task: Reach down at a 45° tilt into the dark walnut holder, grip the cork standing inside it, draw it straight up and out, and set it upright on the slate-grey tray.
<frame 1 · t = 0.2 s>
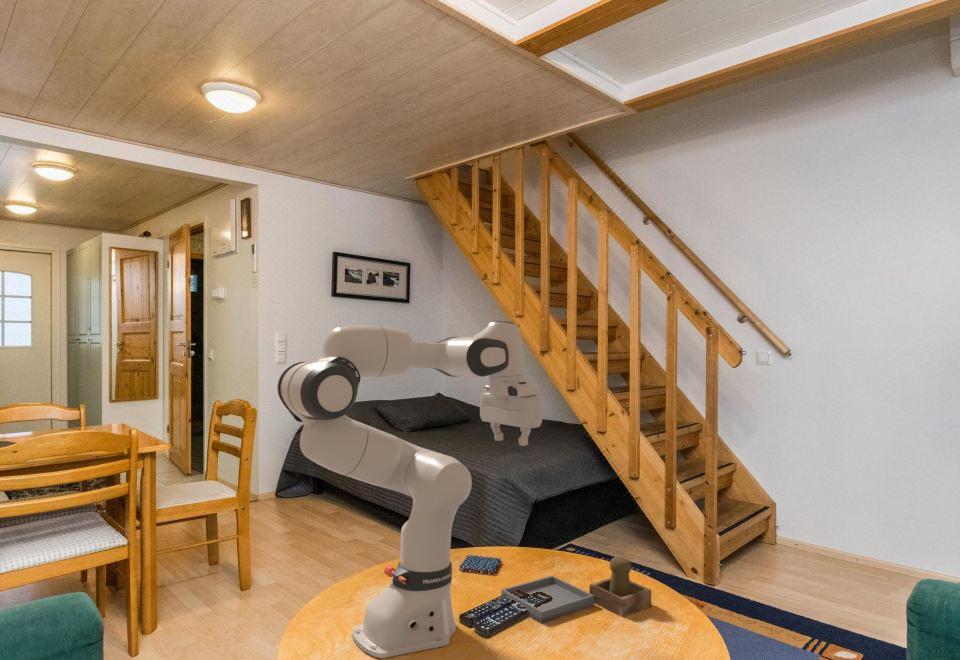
hand: (510, 442, 144), 39 cm above the table, tool pointing down, fingers open, 8 cm apart
woven mat: (481, 569, 167), on the table
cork: (619, 604, 144), resting in holder
tray: (547, 602, 144), on the table
holder: (619, 603, 144), on the table
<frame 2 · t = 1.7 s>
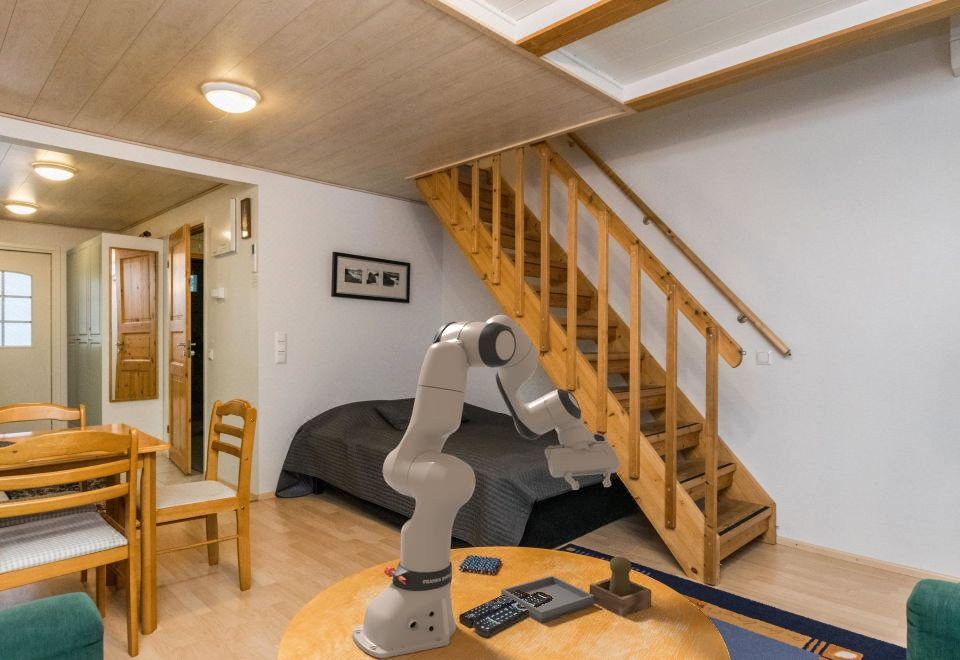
hand: (592, 487, 158), 25 cm above the table, tool tilted 45°, fingers open, 8 cm apart
nothing on the table moved.
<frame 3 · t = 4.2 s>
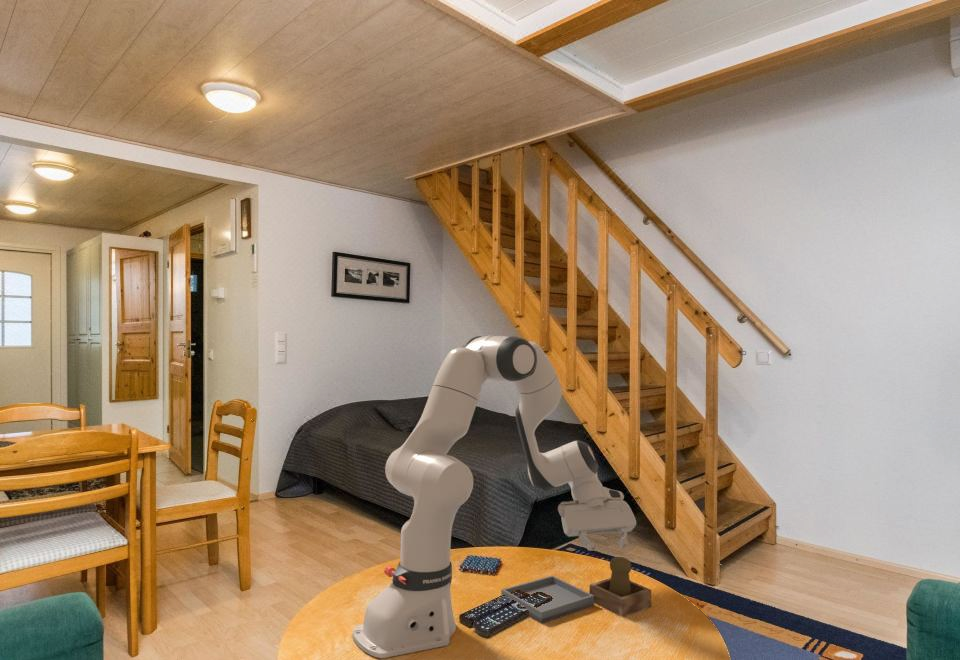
hand: (608, 548, 150), 12 cm above the table, tool tilted 45°, fingers open, 8 cm apart
nothing on the table moved.
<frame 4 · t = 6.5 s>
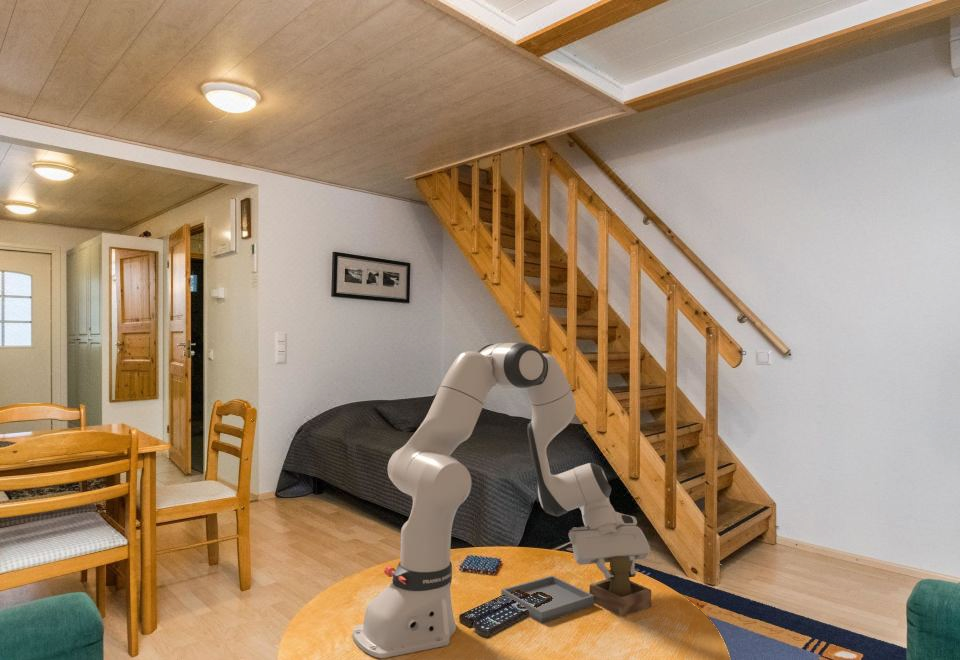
hand: (621, 577, 144), 7 cm above the table, tool tilted 45°, fingers closed on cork, 5 cm apart
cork: (619, 604, 144), resting in holder, touching gripper
everything else where it was.
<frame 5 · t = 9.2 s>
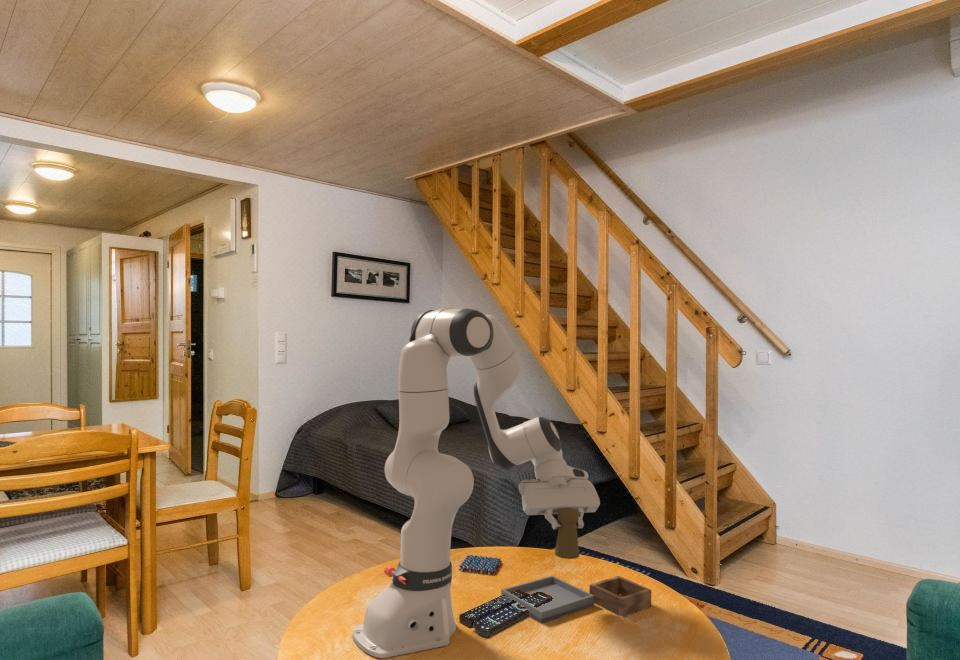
hand: (568, 527, 144), 19 cm above the table, tool tilted 45°, fingers closed on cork, 5 cm apart
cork: (566, 555, 144), point 12 cm above the table, touching gripper
everything else where it was.
when the fingers open (9 cm above the table, at t = 12.4 s): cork drops 1 cm, resting on tray.
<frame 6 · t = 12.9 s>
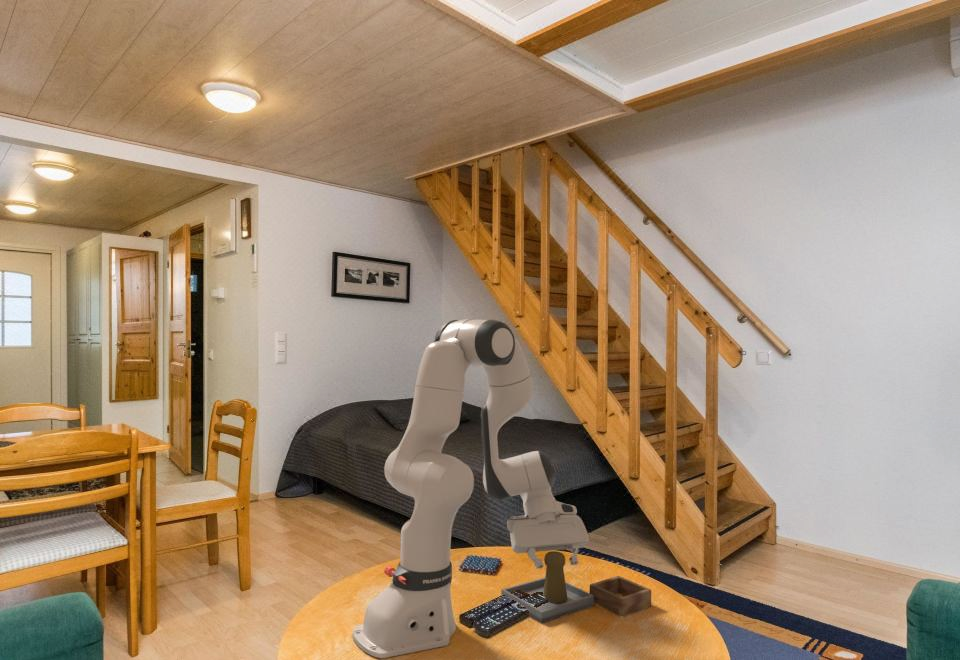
hand: (557, 565, 144), 9 cm above the table, tool tilted 45°, fingers open, 8 cm apart
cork: (555, 598, 144), point 1 cm above the table, touching tray
everything else where it was.
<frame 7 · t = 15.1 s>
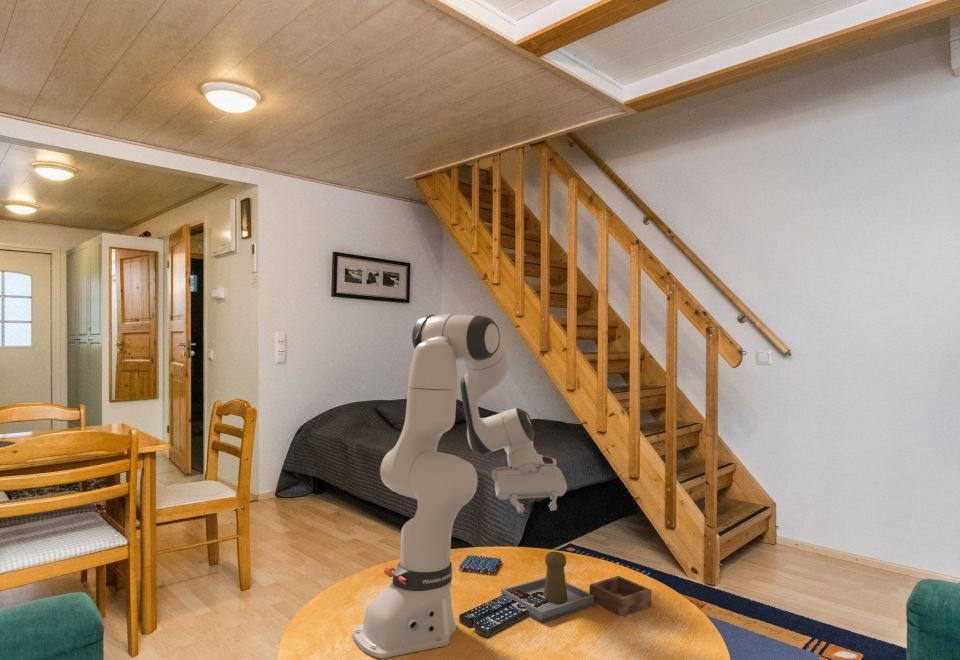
hand: (537, 510, 157), 19 cm above the table, tool tilted 45°, fingers open, 8 cm apart
nothing on the table moved.
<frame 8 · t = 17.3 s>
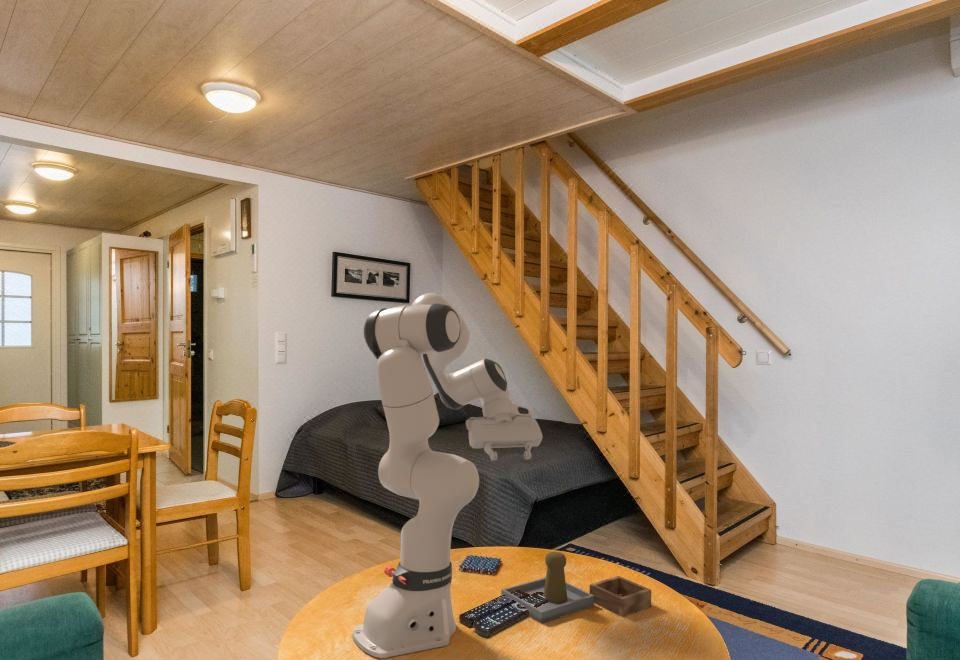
hand: (511, 458, 154), 33 cm above the table, tool tilted 45°, fingers open, 8 cm apart
nothing on the table moved.
at the end: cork inside the target area on the tray (2.0 cm from its centre), point 0.8 cm above the tray's base; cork tilted 0°; the gripper is holding nothing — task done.
